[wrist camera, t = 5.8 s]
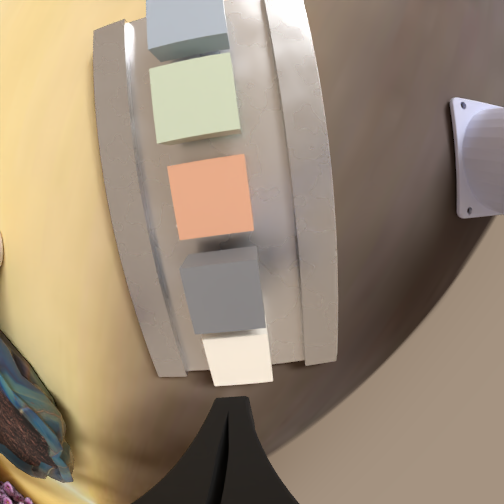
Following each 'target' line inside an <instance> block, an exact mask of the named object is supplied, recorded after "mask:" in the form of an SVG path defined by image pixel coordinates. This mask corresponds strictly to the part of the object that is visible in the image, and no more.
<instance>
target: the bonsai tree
mask: <svg viewBox="0 0 504 504" xmlns="http://www.w3.org/2000/svg"><path fill="white" fill-rule="evenodd" d="M66 427H67V426H66V424H65V422H64V419H63V417H62V415H61V413H60V412H59V411H58V409H57V406H56V404H55V402H54V400H53V397H52V396H51V395H50V393H49V392H48V391H47V389H46V388H45V386H44V385H43V384H42V382H41V381H40V379H39V378H38V376H37V375H36V373H35V372H34V370H33V369H32V367H31V366H30V364H29V363H28V362H27V361H26V360H25V359H24V358H23V357H22V355H21V354H20V353H19V352H18V351H17V350H16V349H15V347H14V346H13V345H12V344H11V343H10V341H9V340H8V339H7V338H6V337H5V335H4V334H3V333H2V331H0V453H1V454H3V455H4V456H5V457H6V458H7V459H8V460H9V461H10V462H11V463H12V464H14V465H15V466H16V467H17V468H18V469H20V470H22V471H23V472H25V473H27V474H29V475H30V476H32V477H37V478H42V479H46V477H47V476H49V477H51V478H53V479H55V480H58V481H60V482H63V483H65V482H73V478H72V475H71V474H72V472H73V469H74V458H73V455H72V451H71V448H70V445H69V444H68V443H67V441H66V440H65V433H66ZM0 504H33V502H32V500H31V498H28V497H26V498H24V496H23V495H21V494H20V493H19V492H18V491H17V490H16V489H15V487H14V486H13V485H12V484H11V483H10V482H8V481H7V482H5V483H3V482H2V481H0Z"/></svg>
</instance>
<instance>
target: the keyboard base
mask: <svg viewBox="0 0 504 504" xmlns="http://www.w3.org/2000/svg"><path fill="white" fill-rule="evenodd" d="M223 1H224V8H225V15H226V23H227V30H228V37H229V44H230V49H225V50H219V51H213V52H207V53H201V54H196V55H191V56H186V57H181V58H177V59H173V60H168V61H164V62H160V61H159V60H158V59H157V58H156V57H155V56H154V55H153V54H152V53H151V52H150V51H149V50H148V43H147V20H146V17H145V18H142V19H139V20H136V21H132V22H129V23H128V22H127V21H126V20H125V19H123V20H120V21H118V22H115V23H112V24H110V25H107V26H104V27H102V28H99V29H97V30H95V31H94V36H93V69H94V94H95V109H96V121H97V131H98V140H99V148H100V156H101V163H102V170H103V177H104V183H105V189H106V194H107V200H108V205H109V210H110V215H111V220H112V225H113V229H114V234H115V238H116V243H117V247H118V251H119V255H120V259H121V263H122V267H123V270H124V274H125V278H126V281H127V285H128V288H129V292H130V295H131V299H132V302H133V305H134V308H135V312H136V315H137V318H138V321H139V324H140V327H141V330H142V333H143V336H144V339H145V342H146V344H147V347H148V350H149V353H150V355H151V358H152V361H153V363H154V366H155V369H156V371H157V374H158V376H159V377H186V376H187V375H188V371H195V370H210V368H209V364H208V360H207V357H206V353H205V349H204V345H203V341H202V338H203V334H195V333H194V329H193V325H192V321H191V317H190V313H189V309H188V305H187V301H186V297H185V293H184V288H183V284H182V279H181V275H180V270H179V268H180V266H181V265H182V263H183V262H184V260H185V258H186V257H187V255H188V254H195V253H203V252H211V251H219V250H227V249H235V248H243V247H251V246H256V247H257V254H258V262H259V270H260V278H261V286H262V294H263V302H264V310H265V315H266V323H267V331H268V339H269V347H270V355H271V364H279V363H287V362H295V361H302V360H304V362H305V366H308V365H314V364H321V363H327V362H332V361H336V357H337V345H338V267H337V240H336V221H335V206H334V193H333V181H332V170H331V160H330V151H329V142H328V134H327V126H326V119H325V112H324V105H323V98H322V92H321V86H320V80H319V74H318V68H317V63H316V57H315V52H314V47H313V42H312V37H311V33H310V28H309V23H308V19H307V15H306V11H305V6H304V2H303V0H223ZM229 52H230V56H231V61H232V66H233V73H234V80H235V88H236V95H237V103H238V110H239V117H240V125H241V132H242V133H241V134H233V135H226V136H220V137H213V138H207V139H201V140H196V141H190V142H185V143H180V144H175V145H164V144H157V139H156V131H155V123H154V114H153V105H152V95H151V84H150V73H149V69H151V68H155V67H158V66H162V65H166V64H170V63H175V62H179V61H184V60H189V59H193V58H199V57H204V56H210V55H216V54H222V53H229ZM239 154H245V159H246V167H247V175H248V182H249V190H250V197H251V205H252V213H253V221H254V231H247V232H239V233H232V234H224V235H216V236H209V237H201V238H194V239H186V240H180V239H179V234H178V229H177V223H176V218H175V212H174V206H173V201H172V195H171V188H170V182H169V176H168V169H167V166H172V165H177V164H182V163H188V162H194V161H200V160H206V159H212V158H218V157H225V156H232V155H239Z"/></svg>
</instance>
